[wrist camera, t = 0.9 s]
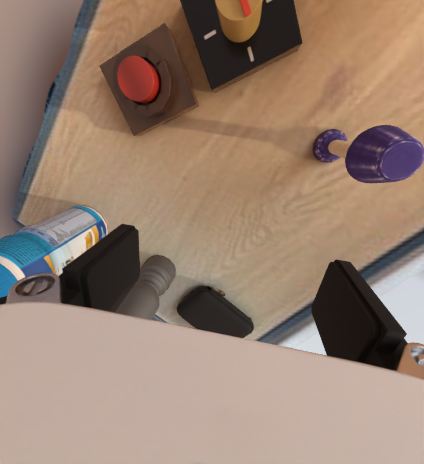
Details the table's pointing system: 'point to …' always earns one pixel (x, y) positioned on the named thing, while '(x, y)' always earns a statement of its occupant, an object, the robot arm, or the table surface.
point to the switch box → (170, 76)
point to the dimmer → (241, 53)
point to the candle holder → (148, 288)
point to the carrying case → (214, 313)
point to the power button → (138, 79)
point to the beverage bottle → (48, 245)
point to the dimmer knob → (239, 18)
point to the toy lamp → (373, 153)
